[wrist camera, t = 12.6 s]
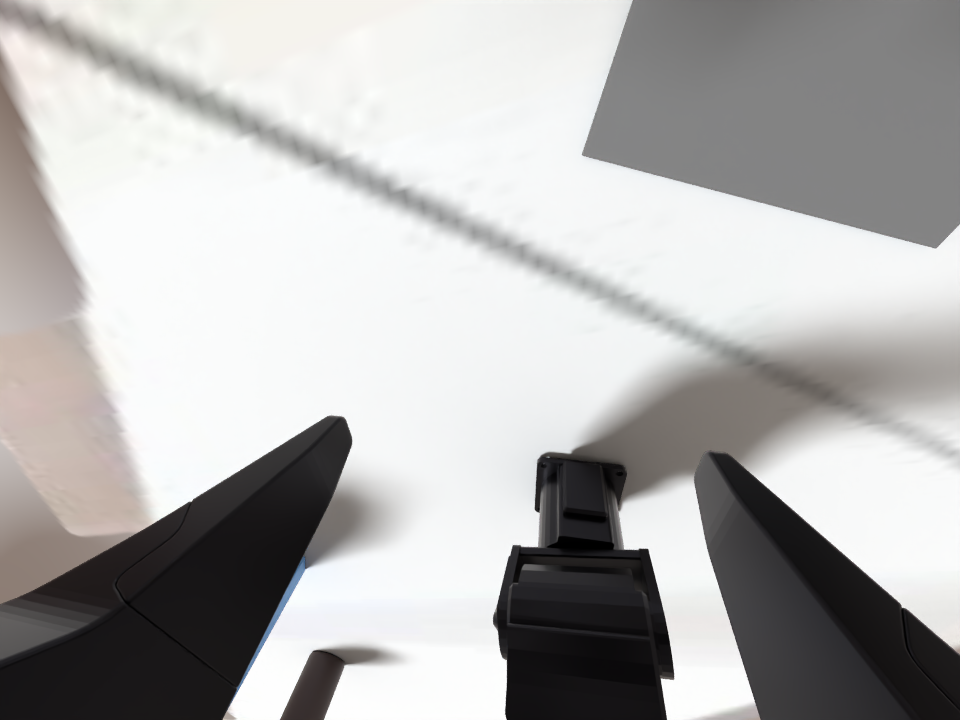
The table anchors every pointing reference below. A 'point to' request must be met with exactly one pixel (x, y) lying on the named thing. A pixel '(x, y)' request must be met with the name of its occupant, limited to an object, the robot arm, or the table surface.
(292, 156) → the table surface
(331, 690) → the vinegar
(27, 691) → the robot arm
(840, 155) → the rubber mat
